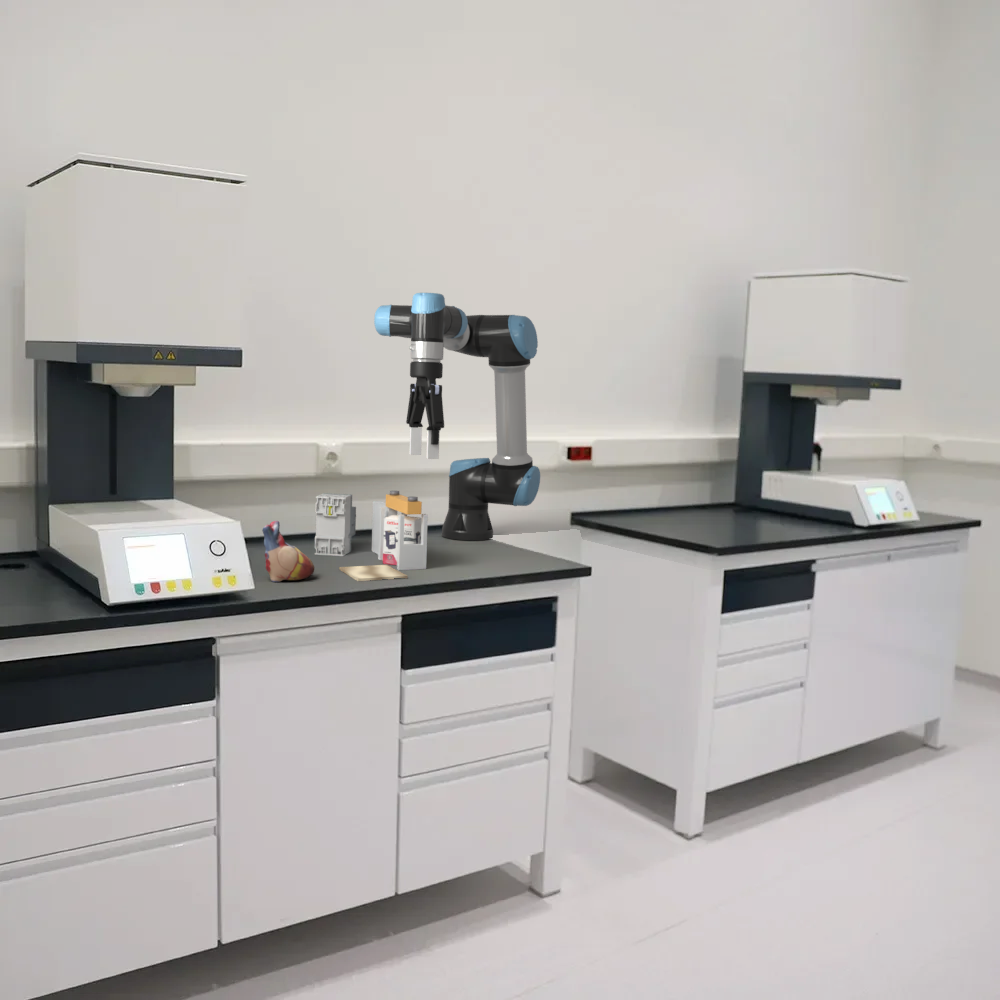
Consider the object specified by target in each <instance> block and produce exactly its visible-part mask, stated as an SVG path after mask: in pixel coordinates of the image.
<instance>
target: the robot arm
mask: <svg viewBox="0 0 1000 1000" xmlns="http://www.w3.org/2000/svg"><path fill="white" fill-rule="evenodd" d="M445 299H446V298H445V296H444V295H443V294H441V293H438V292H436V293H435V292H416V293H414V294H413V295H412V300H411V301H412V303H411V305H407V304H406V305H405V304H403V305H402V304H401V305H399V304H398V305H395V304H386V305H380V306H379V307H378V308H377V309H376V310H375V313H374V319H373V320H374V322H373V323H374V328H375V330H376V332H377V333H378V334H379V335H380V336H383V337H385V336H386V337H400V338H405V339H410V345H409V346H408V349H409V350H410V359H411V360H413V361H411V362H410V365H409V376H410V377H411V378H413V379H414V378H416V380H415V381H416V382H415V383H410V385H409V398H408V407H407V414H406V421H405V423H406V424H407V425H408V426H409V456H421V455H422V441H423V440H422V436H423V427H424V425H423V423H422V420H423V417H424V412H425V413H426V417H427V423H428V426H427V428H426V431H427V433H426V435H427V437H426V459H427V460H439V459H440V455H439V454H440V431H441V429H444V428H445V417H444V406H443V385H442V384H437V380H436V379H438V380H439V379H443V368H444V367H443V365H444V364H443V362H441V361H443V360H444V349H446V350H448V351H452V352H456V353H461V354H463V355H468V356H472V357H476V358H487V359H488V366H489V367H490V368H491V369H492V370H493V372H494V374H493V375H494V400H495V402H494V404H495V429H496V430H495V432H496V433H495V435H496V455H494V457H492V459H491V460H490V457H478V458H476V457H475V458H465V459H457V460H454V461H452V462H451V464H450V467H449V475H448V477H449V478H448V479H449V481H448V511H447V514H446V516H445V519H444V522H443V524H442V528H441V536H442V537H443V538H445V539H451V540H457V541H483V540H484V541H485V540H491V539H493V538H494V528H493V525H492V522H491V518H490V513H489V504H496V505H507V506H514V507H517V506H518V507H520V506H521V507H527V506H529V505H531V504H532V503H533V502H534V501H535V499H536V497H537V494H538V491H539V489H540V483H541V472H540V468H539V467H538V466H536V465H533V463H534V462H533V457H532V456H531V455H530V454H529V453H528V439H527V435H528V434H527V399H526V398H527V397H526V396H527V395H526V389H527V388H526V370H527V368H528V367H529V366H530V365H531V360H532V359H533V358H535V357H536V355H537V352H538V349H537V348H538V346H539V344H538V343H539V342H538V334H537V330H536V326H535V325H534V322H533V321H532V320H531V319H530V318H529V317H528V316H525V315H519V314H518V315H516V314H473V315H472V314H471V315H466V313H465V311H463V309H460V308H458V307H456V306H455V305H447V304H446V300H445Z"/></svg>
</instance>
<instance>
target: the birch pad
mask: <svg viewBox="0 0 1000 1000" xmlns="http://www.w3.org/2000/svg"><path fill="white" fill-rule="evenodd" d="M338 570H339V571H341V572H342V573H344V574H345V575H347V576H348V577H350V578H351V579H353V580H355V581H357V582H365V581H366V582H368V581H370V580H371V581H383V580H382V579H388V580H395V579H394V578H405V579H408V574H405V573H403V572H401V570H398V569H397V568H396V569H395V568H393V567H392V566H391V565H389V564H377V565H376V564H373V565H372V564H371V565H358V566H357V565H356V566H354V565H353V566H339V567H338Z"/></svg>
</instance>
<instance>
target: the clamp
mask: <svg viewBox="0 0 1000 1000" xmlns="http://www.w3.org/2000/svg"><path fill="white" fill-rule="evenodd" d="M400 513H401V514H398V511H397V510H394V509H391V508H389V507H386V501H382V500H376V501H375V500H373V501H372V519H371V521H372V522H371V523H372V525H371V526H372V527H371V552H373V553H374V554H376V555H377V558H378V559H377V560H378V561H383V537H384V518H386V517H389V516H391V515H398V546H397V565H396V570H398V571H413V570H426V569H427V557H428V556H427V553H428V552H427V549H428V547H427V546H428V544H427V543H428V520H429V519H428V518H429V517H428V514H426V513H421V517H420V518H421V544H404V516H408V515H407V514H405V513H402V512H400Z"/></svg>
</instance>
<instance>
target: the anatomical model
mask: <svg viewBox="0 0 1000 1000" xmlns="http://www.w3.org/2000/svg"><path fill="white" fill-rule="evenodd" d="M262 533H263V538H264V540H263V546H264V548H265V552H264V558H265V559H264V560H265V569H266V571H267V573H268V575H269V578H270V581H271V582H273V583H281V582H282V581H301V580H305V579H308V578H309V577H311V576H312V575H313V574H314V572H315V565H314V562H313V561H312V559H311V558H310V557H308V556H307V555H306V554H305V553H303V552H302V551H301V550H300V549H299V548H298V547H296V546H295V545H291V544H289V543H288V542H286V541H285V538H284V537H283V534H282V533H281V532H280V521H278V520H273V521H271V522H270V524H266V525H264V526H263V528H262Z"/></svg>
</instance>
